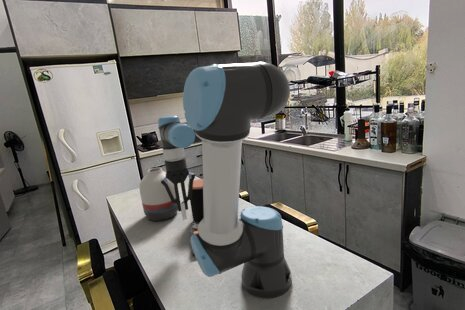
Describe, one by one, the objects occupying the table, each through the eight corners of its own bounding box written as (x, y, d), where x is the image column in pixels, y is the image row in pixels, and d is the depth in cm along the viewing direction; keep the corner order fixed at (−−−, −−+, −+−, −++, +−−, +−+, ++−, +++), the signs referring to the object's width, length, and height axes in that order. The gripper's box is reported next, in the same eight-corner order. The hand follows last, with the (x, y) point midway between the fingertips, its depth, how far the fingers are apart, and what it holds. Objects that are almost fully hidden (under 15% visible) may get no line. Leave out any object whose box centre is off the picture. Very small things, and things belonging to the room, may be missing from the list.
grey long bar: (206, 253, 102) (205, 246, 102) (193, 256, 102) (192, 248, 101) (201, 227, 122) (200, 220, 121) (190, 229, 121) (189, 222, 120)
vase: (154, 227, 127) (145, 178, 121) (139, 216, 139) (130, 171, 133) (186, 213, 137) (179, 167, 131) (169, 204, 150) (162, 162, 144)
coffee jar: (212, 225, 123) (207, 187, 119) (189, 225, 125) (184, 187, 121) (218, 214, 133) (214, 178, 129) (197, 214, 135) (192, 179, 131)
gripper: (190, 153, 107) (199, 210, 113) (156, 159, 104) (166, 218, 109) (194, 157, 100) (203, 217, 106) (157, 164, 97) (168, 226, 102)
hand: (184, 217), depth 107 cm, fingers closed
